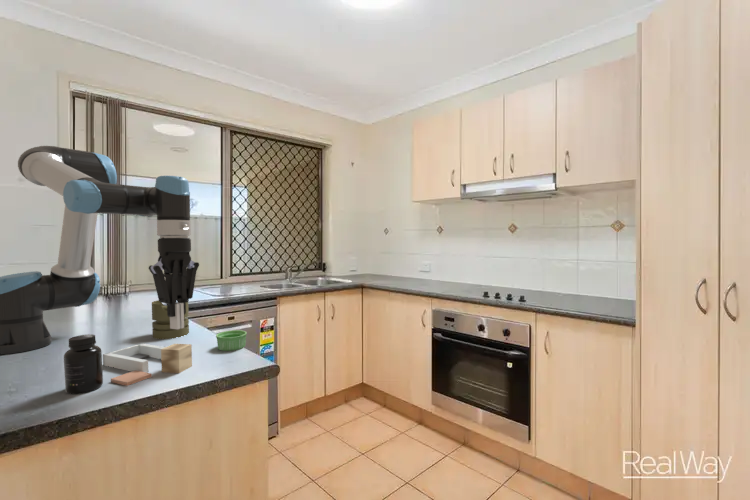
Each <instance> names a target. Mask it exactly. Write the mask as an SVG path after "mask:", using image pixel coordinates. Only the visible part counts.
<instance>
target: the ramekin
mask: <svg viewBox="0 0 750 500" xmlns="http://www.w3.org/2000/svg"><path fill="white" fill-rule="evenodd" d="M247 334H248V333H247V331H245V330H241V329H236V330H235V329H233V330H225V331H222V332H219V333H216V335H215V338H216V341H217V342H216V343H217V349H218V350H219V351H222V352H231V351H238V350H242V349H243V348H245V347H246V343H247V342H246V341H247Z"/></svg>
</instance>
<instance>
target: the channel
mask: <svg viewBox="0 0 750 500" xmlns="http://www.w3.org/2000/svg"><path fill="white" fill-rule="evenodd" d="M165 347H166V346H161V345H154V344H148V343H140V344H136V345H132V346H129V347H124V348H121V349H118V350H114V351H110V352H107V353H104V354H103V353H102V366H105V367H108V366H109V368H113V367H114V369H119V370H123V371H129V372H132V371H135V370H137V371H141V372H146V373H149V360H148V358H152V359H158V360H161V349H163V348H165Z"/></svg>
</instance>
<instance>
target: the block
mask: <svg viewBox="0 0 750 500" xmlns="http://www.w3.org/2000/svg"><path fill="white" fill-rule="evenodd" d="M192 346H193V345H192V344H188V343H172V344H171V345H168V346H164V347H165V348H163V349H161V359H160V360H161V373H170V374H181V373H182V372H184V371H186V370H188V369H190V368H192V367H193V357H192V355H193V351H192Z"/></svg>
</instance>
